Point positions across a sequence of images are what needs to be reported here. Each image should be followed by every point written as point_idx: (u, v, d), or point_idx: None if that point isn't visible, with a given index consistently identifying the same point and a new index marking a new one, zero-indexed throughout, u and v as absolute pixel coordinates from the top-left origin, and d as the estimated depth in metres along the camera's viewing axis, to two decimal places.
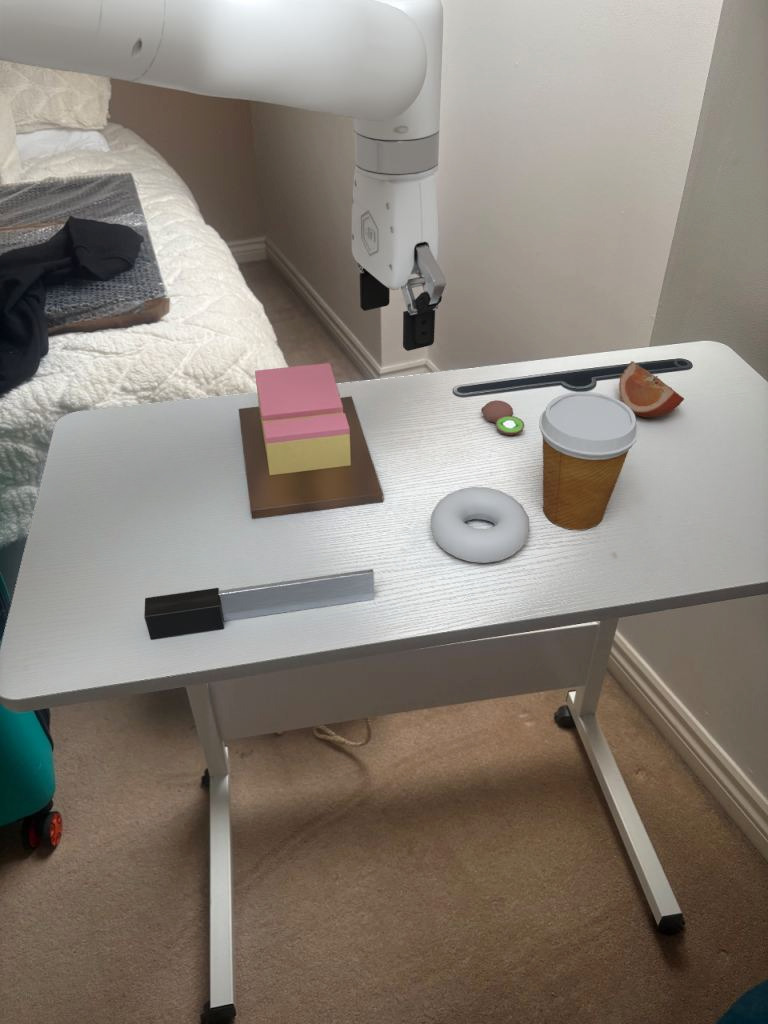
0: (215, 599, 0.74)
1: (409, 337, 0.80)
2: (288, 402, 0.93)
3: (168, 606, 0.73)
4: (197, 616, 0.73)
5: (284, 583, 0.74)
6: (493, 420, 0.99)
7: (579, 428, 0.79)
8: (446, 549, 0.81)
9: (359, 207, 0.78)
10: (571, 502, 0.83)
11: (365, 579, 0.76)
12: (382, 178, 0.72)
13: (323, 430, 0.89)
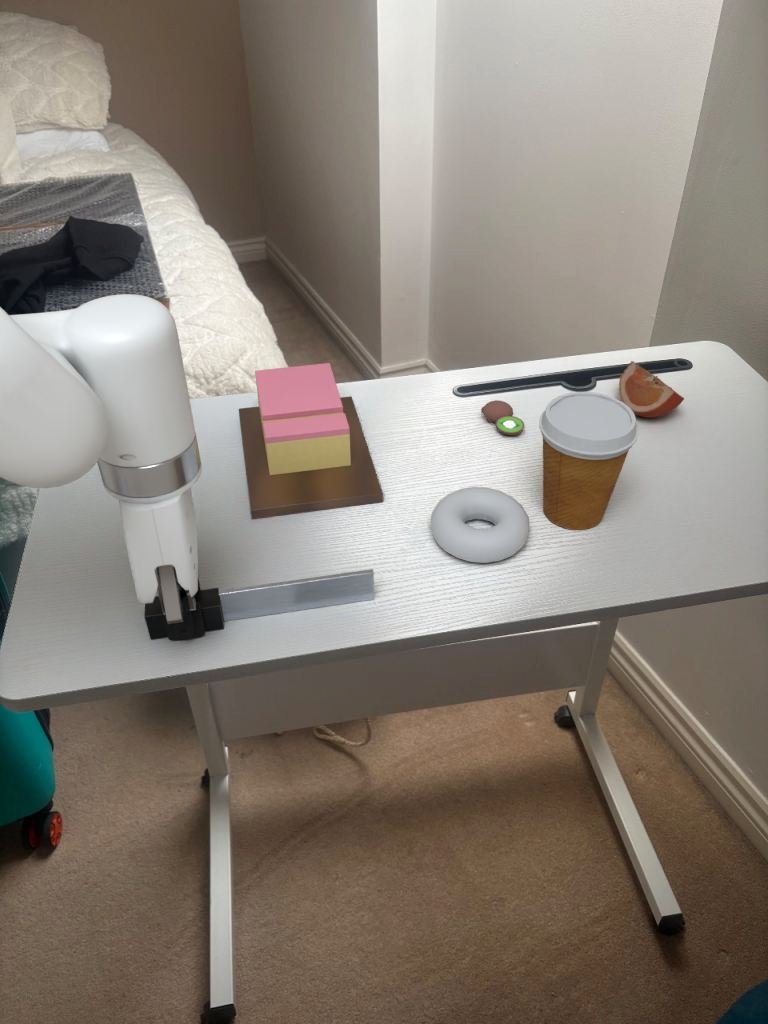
0: (215, 599, 0.74)
1: (171, 629, 0.73)
2: (288, 402, 0.93)
3: None
4: None
5: (284, 583, 0.74)
6: (493, 420, 0.99)
7: (579, 427, 0.79)
8: (446, 549, 0.81)
9: None
10: (571, 502, 0.83)
11: (365, 579, 0.76)
12: (115, 496, 0.62)
13: (323, 430, 0.89)
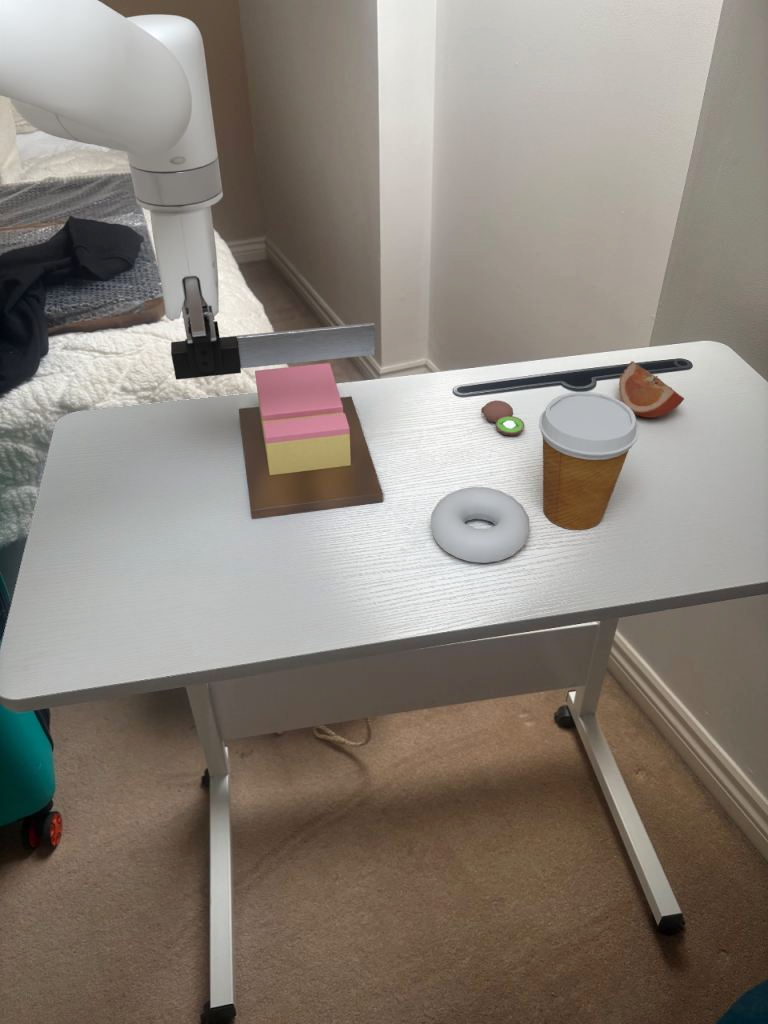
0: (233, 342, 0.83)
1: (194, 364, 0.82)
2: (288, 402, 0.93)
3: None
4: None
5: (295, 331, 0.83)
6: (493, 420, 0.99)
7: (579, 428, 0.79)
8: (446, 549, 0.81)
9: None
10: (571, 502, 0.83)
11: (367, 331, 0.85)
12: (147, 208, 0.71)
13: (323, 430, 0.89)
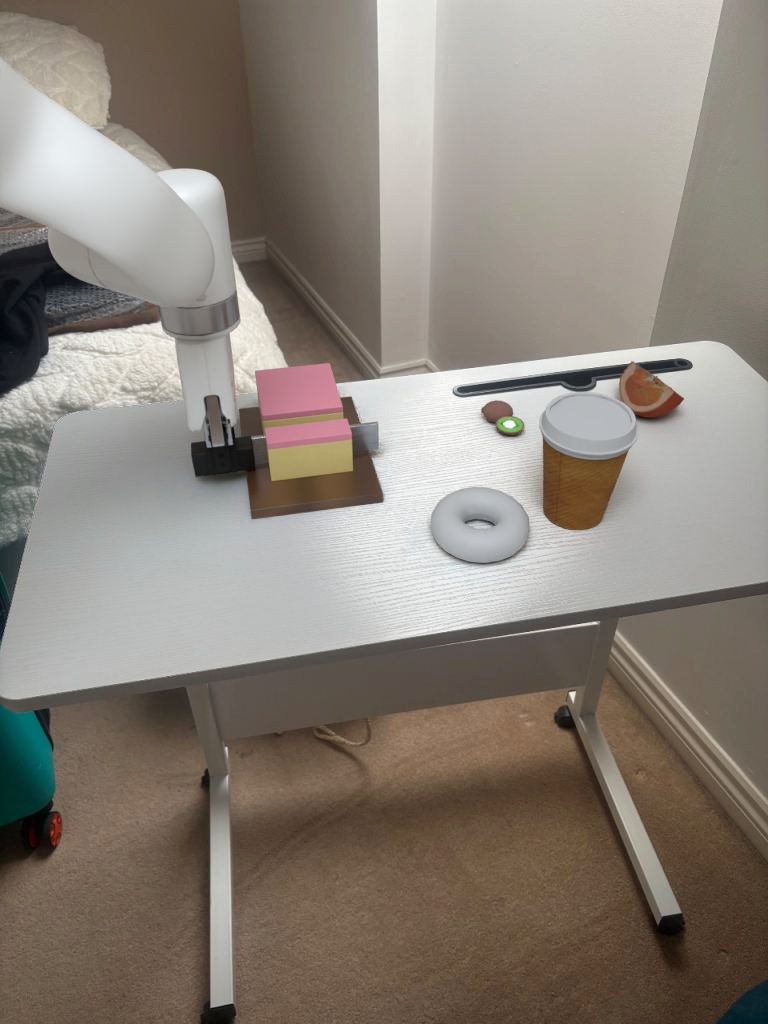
0: (248, 443, 0.90)
1: (212, 464, 0.89)
2: (288, 402, 0.93)
3: None
4: None
5: None
6: (493, 420, 0.99)
7: (579, 427, 0.79)
8: (446, 549, 0.81)
9: None
10: (571, 502, 0.83)
11: (371, 430, 0.92)
12: (173, 336, 0.78)
13: (325, 436, 0.88)
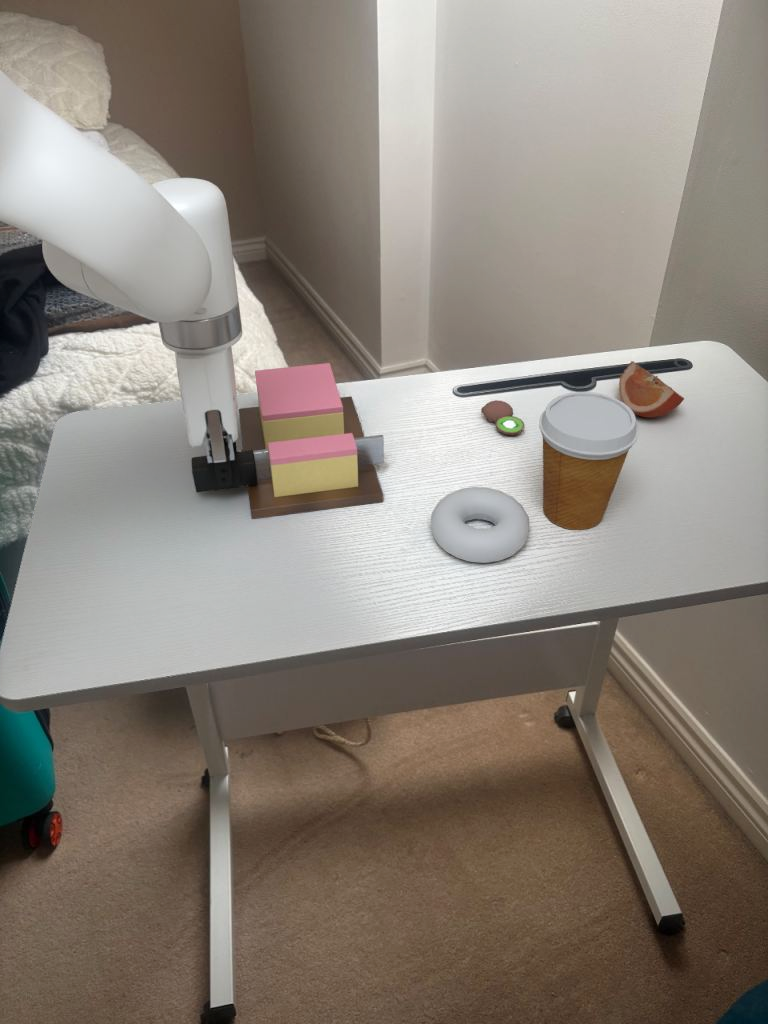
0: (250, 457, 0.87)
1: (213, 479, 0.86)
2: (288, 402, 0.93)
3: None
4: None
5: None
6: (493, 420, 0.99)
7: (579, 427, 0.79)
8: (446, 549, 0.81)
9: None
10: (571, 502, 0.83)
11: (376, 443, 0.90)
12: (173, 349, 0.76)
13: (330, 451, 0.86)
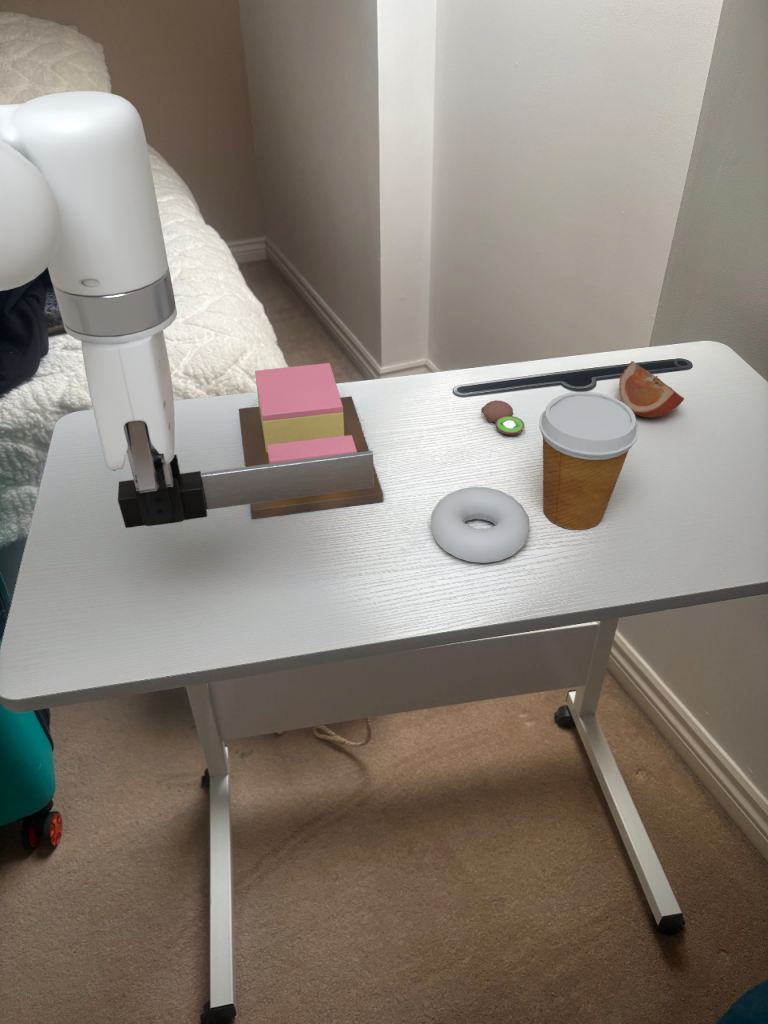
0: (196, 482, 0.66)
1: (146, 512, 0.65)
2: (288, 402, 0.93)
3: None
4: None
5: (273, 465, 0.67)
6: (493, 420, 0.99)
7: (579, 427, 0.79)
8: (446, 549, 0.81)
9: None
10: (571, 502, 0.83)
11: (364, 462, 0.68)
12: (76, 337, 0.54)
13: (329, 453, 0.85)
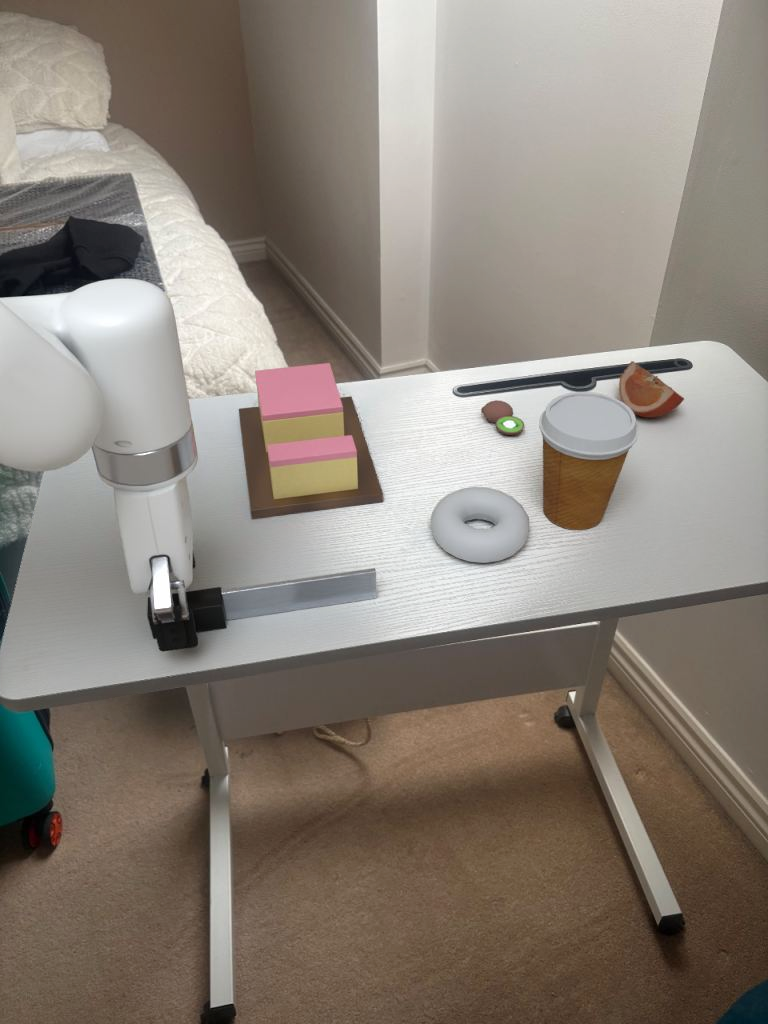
0: (217, 598, 0.74)
1: (162, 639, 0.68)
2: (288, 402, 0.93)
3: None
4: (199, 615, 0.73)
5: (287, 582, 0.74)
6: (493, 420, 0.99)
7: (579, 427, 0.79)
8: (446, 549, 0.81)
9: None
10: (571, 502, 0.83)
11: (367, 578, 0.76)
12: (109, 484, 0.61)
13: (329, 453, 0.85)
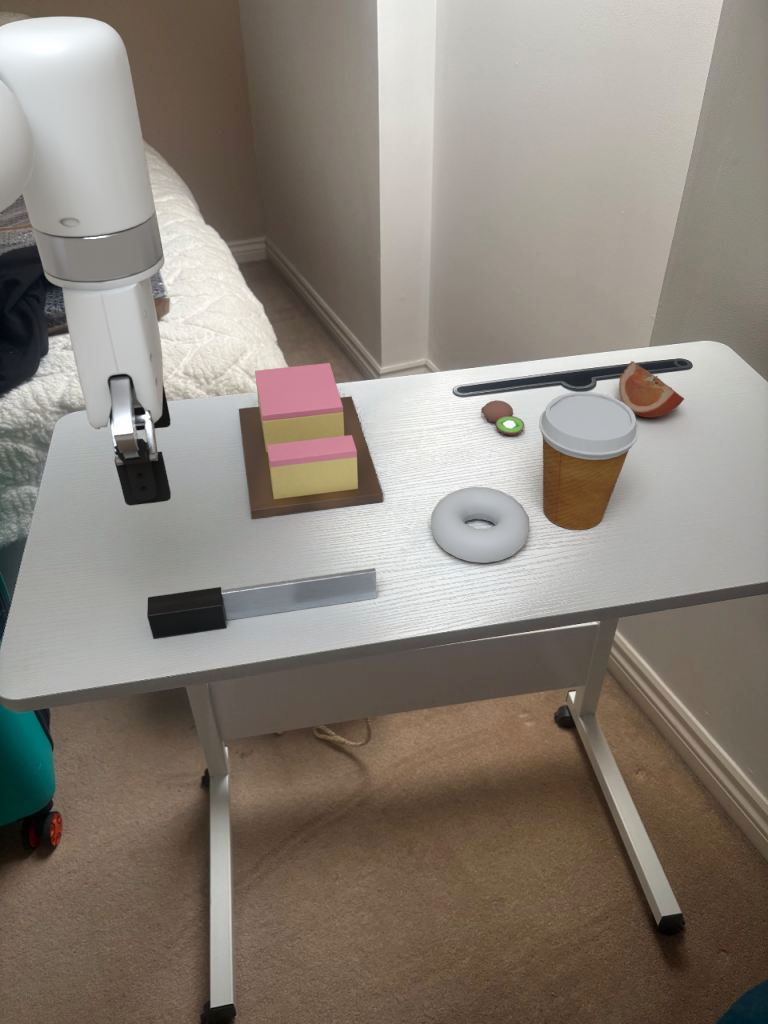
0: (217, 598, 0.74)
1: (128, 489, 0.59)
2: (288, 402, 0.93)
3: (171, 605, 0.73)
4: (199, 615, 0.73)
5: (287, 582, 0.74)
6: (493, 420, 0.99)
7: (579, 428, 0.79)
8: (446, 549, 0.81)
9: None
10: (571, 502, 0.83)
11: (367, 578, 0.76)
12: (57, 283, 0.51)
13: (329, 453, 0.85)
